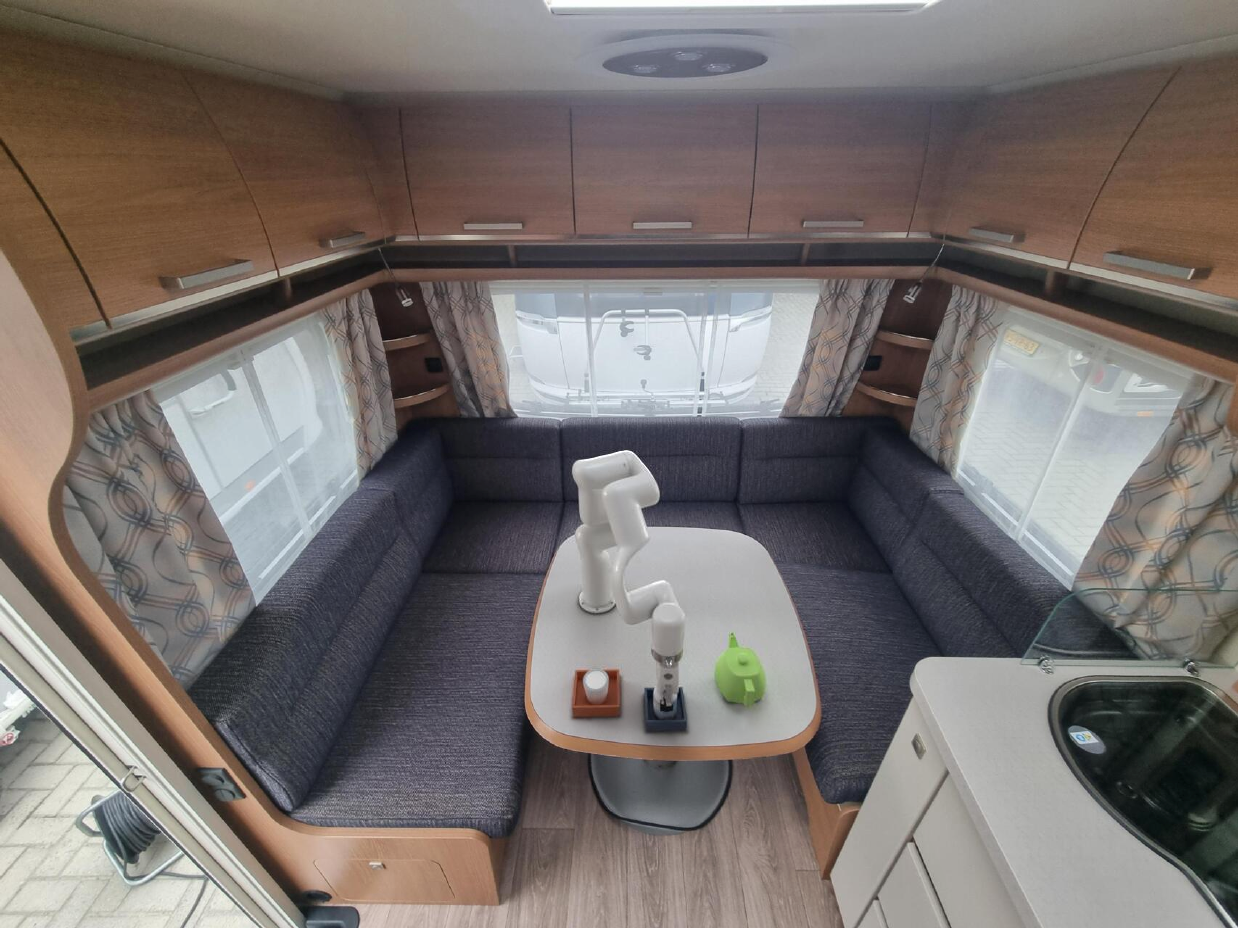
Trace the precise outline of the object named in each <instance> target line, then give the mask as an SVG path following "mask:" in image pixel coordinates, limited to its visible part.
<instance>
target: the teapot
mask: <svg viewBox="0 0 1238 928" xmlns="http://www.w3.org/2000/svg"><path fill="white" fill-rule="evenodd" d="M738 643H739V642H738V641H737V638H736V633H735V631H734V632H732V631H731V632H730V631H729V634H728V649H726V650H724V651H723V652H722V653H721V654H720V655H719V657H718V658H717V660H716V663H715V666H714V681H715V685H716V686H717V689H718V690H719V692H720V694H721V695H722V696H723V697H724V698H725V700H726V701H727V702H728V703H729V702H730V703H736V704H743V705H744V706H745V707H746V708H754V707H755V702H757V701H760V700H761V699H762V698H763V697H764V695H765V694H766V688H767V679H766V673H765V669H764V665H763V664H762V662H761V661H760V658H759V657H758V655H757V654H756V652H755V651H754V650H753V649H751V648H749V647H747V646H746V647H745V646H740V645H739V644H738Z"/></svg>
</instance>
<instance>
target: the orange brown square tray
mask: <svg viewBox="0 0 1238 928" xmlns="http://www.w3.org/2000/svg"><path fill="white" fill-rule="evenodd" d="M589 670H590V669H575V671H574V683H573V695H572V706H571V710H572V717H573V718H581V717H582V718H583V717H584V718H586V717H587V718H588V717H590V718H591V717H620V716H621V715H620V708H621V707H620V669H619V668H615V669H614V668H613V669H610V668H609V669H603V670H604V671H605V672H606V673H607V675H608V677H609V682H608V694H607V699H606V701H605V702H604V703H603V704H600V705H593V704H591V703H590V702H589V701H588V699H587V696H586V692H585V688H584V684H583V678H584V676H585V674H586V673H587V672H588V671H589Z"/></svg>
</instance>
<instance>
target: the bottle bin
mask: <svg viewBox="0 0 1238 928" xmlns="http://www.w3.org/2000/svg"><path fill="white" fill-rule="evenodd" d="M655 687H656V686H654V687H644V688H643V689H644V690H643V691H644V693H643V694H644V717H645V732H687V726H688V725H687V724H688V721H687V720H688V719H687V712H686V705H685V704H686V703H685V695H684V688H683V686H679V691H678V693H677V708H676V715H675V717H674V719H673V720H658V719H657V718H656V717H655V715H654V710H653V693H654V689H655Z"/></svg>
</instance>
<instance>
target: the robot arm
mask: <svg viewBox="0 0 1238 928" xmlns="http://www.w3.org/2000/svg"><path fill="white" fill-rule="evenodd" d="M571 475H572V479H573V480H574V482H575V484H576V485H577V488H578V509H579V510H578V511H579V517H580V521H581V522H582V524H581V525H579V526H578V527H577V528H576V530H575V532H574V539H575V543H576V546H577V549H578V555H579V562H580V571H581V572H580V573H581V582H582V590H581V592H580V593H579V595H578V602H579V605H580V607H581V608H582V609H583V610H584V611H586V612H588V613H591V614H602V613H606V612H608V611H610V610H611V609H613V607H614V606H616V609H617V612H618V614H619V616H620V619H621V620H622V621H623V622H624V623H625V624H626V625H630V626H634V625H637V624H641V623H643V622H645V621H648V620H650V619H651V637H650V638H651V641H650V642H651V643H650V654H651V657H652V659H653V660H654V661H655V671H656V680H657V681H658V689H659V693H660V694H661V700H660V711H664V712H670V711H673V704H674V700H673V694H677V693H678V691H679V687H680V686H679V685H680V684H679V683H680V661H681V660H682V658H683V655H684V643H685V642H684V641H685V640H684V639H685V632H686V631H685V629H686V614H685V612H684V610H683V609H682V607H680V605H679V602H678V600H677V598H676V593H675V590H674V588H673V586H672V585H671V584H670V583H669V582H668V581H667V580H663V579H660V580H656V581H653V582H652V583H649V584H646V585H643V586H640V587H637V588H635V589H632V590H630V591H627V588H626V583H625V574H626V570H627V568H628V565H629V563H630V562H631V561H632V560H633V558H634V557H635V556H636V555H637V554H638V553H639V552H640V551H641V550H642V549H643V548H644V547H646V546H647V545H648V544H649V543H650V541H651V534H650V532H649V529H648V525H647V523H646V520H645V517H644V513H643V511H642V510H643V509H644V508H648V507H651V506H654V505H656V504H657V503H659V500H660V497H661V495H660V493H661V492H660V489H659V485H658V482H657V481H656V478H654V475H653V474H652V473H651V471H650V470H649V469H648V467H647V466H646V465H645V464H644V463H643V461H642V460H641V459H640V458H639V457H638V455H636V453H634V452H633V451H630V450H621V451H617V452H612V453H609V454H605V455H600V456H596V457H592V458H586V459H577V460H576V461H575V462H574V463H573V465H572V469H571ZM615 547H616V553H615V555H614V558H613V561H612V562H611V557H610V554H609V553H608V552H607V550H609V549H612V548H615ZM611 563H612V564H611ZM664 689H665V690H664ZM664 694H666V698H664Z"/></svg>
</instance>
